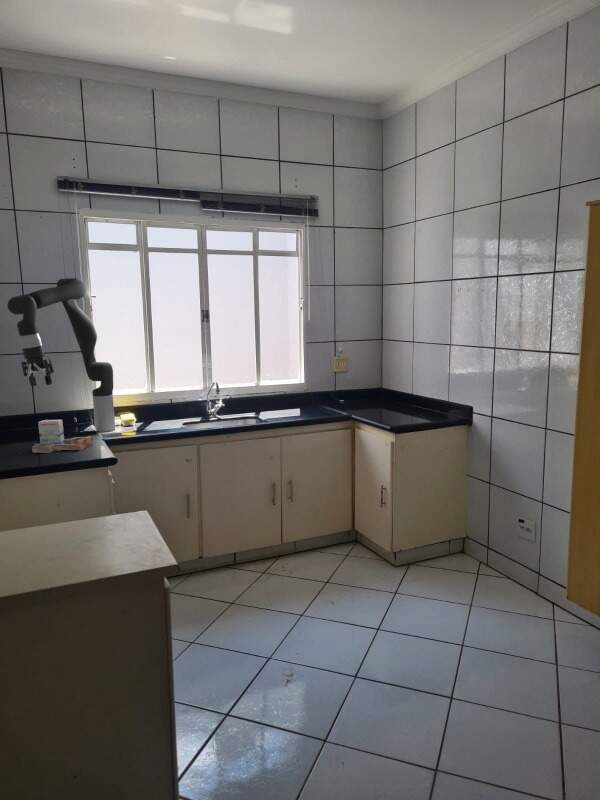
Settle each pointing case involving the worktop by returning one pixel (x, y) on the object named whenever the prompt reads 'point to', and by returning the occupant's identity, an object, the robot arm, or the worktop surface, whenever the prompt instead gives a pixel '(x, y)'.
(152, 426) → the worktop surface
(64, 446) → the trap lane
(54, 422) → the ink box
